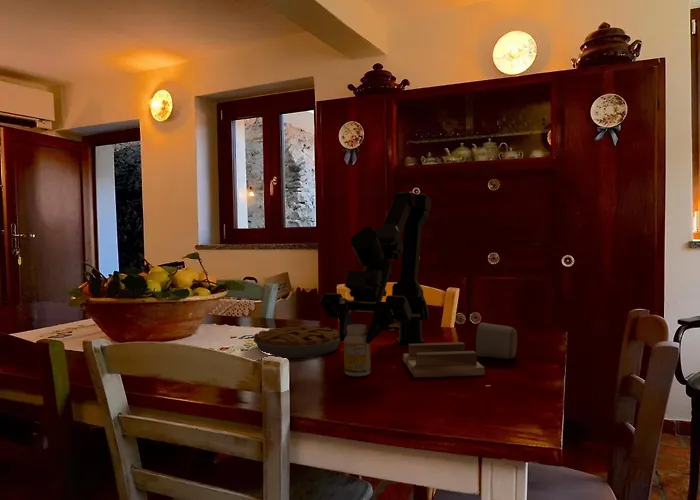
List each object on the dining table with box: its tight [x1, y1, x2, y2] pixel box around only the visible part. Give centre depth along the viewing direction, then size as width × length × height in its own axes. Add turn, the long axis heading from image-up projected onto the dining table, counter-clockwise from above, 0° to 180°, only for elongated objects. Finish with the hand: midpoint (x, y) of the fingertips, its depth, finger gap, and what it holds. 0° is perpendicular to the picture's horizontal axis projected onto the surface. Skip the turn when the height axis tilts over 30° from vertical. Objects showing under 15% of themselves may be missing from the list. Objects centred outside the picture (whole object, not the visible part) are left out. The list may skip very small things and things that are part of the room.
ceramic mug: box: [475, 322, 518, 360], centre depth 116 cm, size 11×8×8 cm
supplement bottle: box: [343, 323, 372, 377], centre depth 103 cm, size 5×5×10 cm
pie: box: [253, 324, 341, 359], centre depth 128 cm, size 22×22×5 cm
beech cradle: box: [402, 341, 486, 378], centre depth 107 cm, size 14×14×4 cm
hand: (354, 341), depth 101 cm, fingers closed on supplement bottle, 5 cm apart
